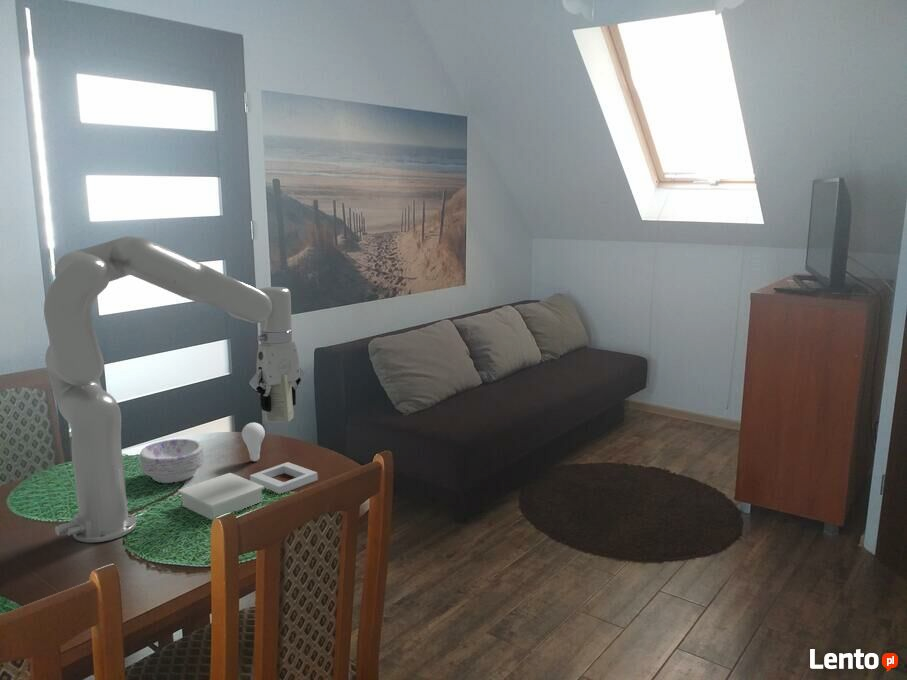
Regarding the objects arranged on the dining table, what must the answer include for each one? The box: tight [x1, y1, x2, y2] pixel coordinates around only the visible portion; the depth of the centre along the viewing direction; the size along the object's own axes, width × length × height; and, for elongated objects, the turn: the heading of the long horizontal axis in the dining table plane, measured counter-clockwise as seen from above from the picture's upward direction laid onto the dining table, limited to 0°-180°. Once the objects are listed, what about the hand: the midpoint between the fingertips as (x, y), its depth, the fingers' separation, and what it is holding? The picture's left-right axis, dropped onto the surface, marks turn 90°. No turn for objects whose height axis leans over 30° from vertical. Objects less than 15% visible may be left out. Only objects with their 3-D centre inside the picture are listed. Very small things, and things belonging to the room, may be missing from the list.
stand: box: [177, 472, 265, 521], centre depth 170 cm, size 14×14×4 cm
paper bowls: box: [139, 438, 205, 484], centre depth 187 cm, size 15×15×8 cm
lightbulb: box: [241, 422, 266, 462], centre depth 197 cm, size 6×6×11 cm
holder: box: [249, 461, 319, 495], centre depth 184 cm, size 12×12×2 cm
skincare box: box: [262, 375, 295, 423], centre depth 180 cm, size 6×4×12 cm
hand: (278, 406), depth 180 cm, fingers closed on skincare box, 6 cm apart
